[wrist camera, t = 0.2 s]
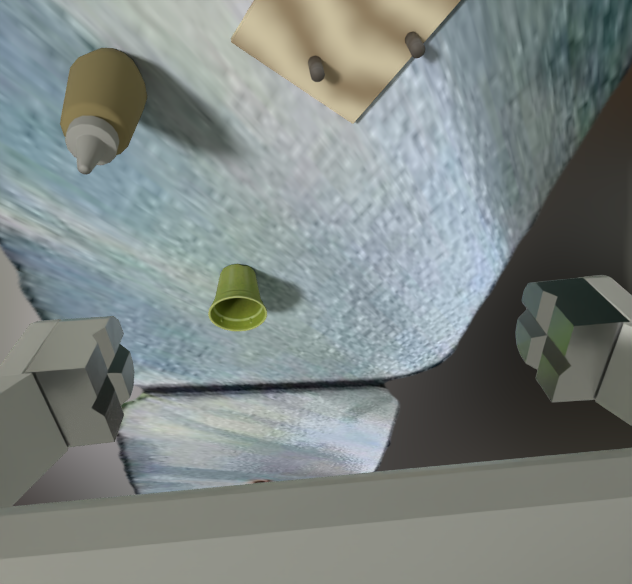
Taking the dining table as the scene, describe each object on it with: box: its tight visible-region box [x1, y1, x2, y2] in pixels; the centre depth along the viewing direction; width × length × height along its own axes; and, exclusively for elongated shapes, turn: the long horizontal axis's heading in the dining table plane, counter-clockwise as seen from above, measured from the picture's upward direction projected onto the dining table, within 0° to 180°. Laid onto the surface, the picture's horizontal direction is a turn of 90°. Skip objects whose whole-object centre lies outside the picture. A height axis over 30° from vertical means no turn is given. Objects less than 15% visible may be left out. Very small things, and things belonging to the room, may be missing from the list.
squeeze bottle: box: [60, 48, 147, 174], centre depth 50 cm, size 8×8×18 cm
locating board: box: [231, 0, 461, 124], centre depth 51 cm, size 24×18×4 cm
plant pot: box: [208, 264, 267, 331], centre depth 82 cm, size 9×9×9 cm
